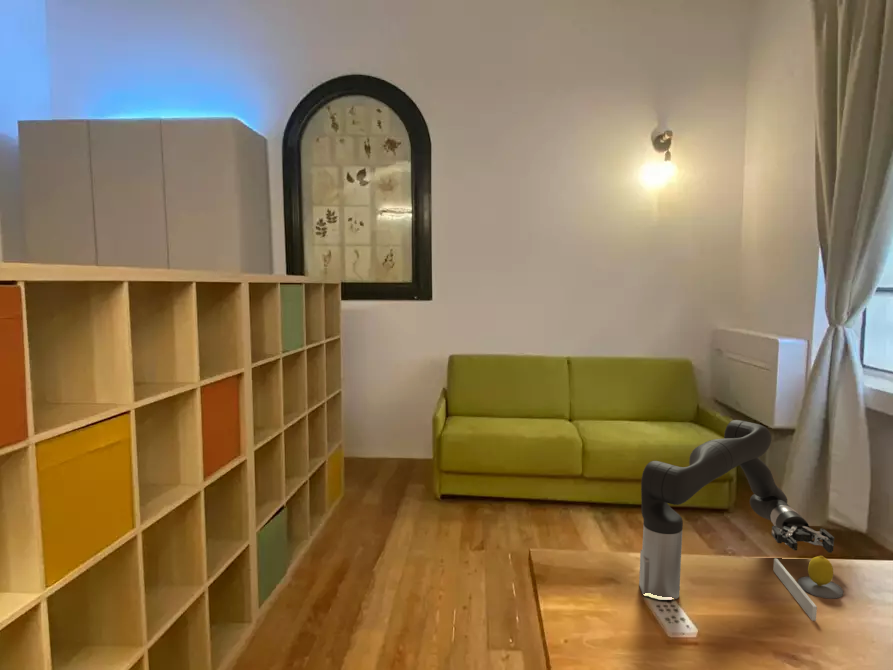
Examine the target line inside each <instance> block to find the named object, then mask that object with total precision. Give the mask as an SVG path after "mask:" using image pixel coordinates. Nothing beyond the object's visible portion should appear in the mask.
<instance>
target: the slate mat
mask: <svg viewBox="0 0 893 670" xmlns="http://www.w3.org/2000/svg"><path fill="white" fill-rule="evenodd" d="M797 583H798V584H799V586H800V587H801V588H802V589H803V591H804V592H805V593H806V594H809V595H812V596H814V597H818V598H822V599H831V600H832V599H833V600H835V599H839V598H842V597H843V596H844V589H843V587H841V586H840V585H839V584H838V583H835V582H834V581H832V580H831V581H830V583H828V584H826V585H822V586H818V585H817V584H816V583H815V582H813V581H812V580H811V578H810V577H809V575H808V576H807V575H806V576H801V577H799V578H798V579H797Z"/></svg>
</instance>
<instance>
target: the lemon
mask: <svg viewBox="0 0 893 670" xmlns="http://www.w3.org/2000/svg"><path fill="white" fill-rule="evenodd" d="M807 573H808V576H809V577H810V578H811V580H812V581H813V582H815V583H816V584H817V585H818V586H822V585H826V584H828V583H830V581H832V580H833V578H834V567H833V565H832V563H831V562H830V560H829V559H827V558H826V557H824V556H823V555H818V556H815V557H812V558H811V559H810V561H809V563H808V566H807Z"/></svg>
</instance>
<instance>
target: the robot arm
mask: <svg viewBox="0 0 893 670" xmlns="http://www.w3.org/2000/svg"><path fill="white" fill-rule="evenodd" d="M723 437H724V438H717V439H711V440H708V441H705V442H704V443H702V444H700V445H698V446H696V447H695V448H694V449H693V450H692V451H691V452H690V455H689V461H688V464H689V465H688V466H685V467H684V466H683V467H682V466H678V465H674V464H670V463H667V462H664V461H660V460H659V461H658V460H652V461H651V460H650V462H648V463H647V464H646V465H645V466H644V469H643V472H642V475H641V480H640V481H641V484H640V488H641V489H640V493H641V500H640V501H641V515H642V519H643V523H642V524H643V525H642V526H643V528H642V530H643V531H642V547H641V548H642V549H640V557H639V577H638V579H639V581H638V582H639V583H638V585H639V589H640V591H641V595H642V594H645V593H651V594H653V595H657V596H662V597H672V598H674V599H676V600H677V599H679V597H680V590H681V587H680V585H681V570H682V569H681V568H682V567H681V566H682V545H683V543H682V542H683V527H684V525H683V518H682V516H681V515H680V514H679V513H678V512H677V511H676V510H674V509H673V508H672V507H671V505H674V506H678V505H682V504H684V503H686V502H687V501H689V500H690V499H691V498H692V497H693V496H695V494H697V493H699V491H700V490H702V489H703V488H705V486H707V485H708V484H710V483H711V482H713V481H714V480H716V479H718V478H720V477H722V476H723V475H725V474H727V473H728V472H730V471H731V470H733V469H735V468H737V467H738V466H740V468H741V469H742V471H743V473H744V475H745V477H746V479H747V481H748V484H749V486H750V487H749V488H750V490H751V492H752V493H753V494H752V495H751V496H750V497H749V498H750V499H749V506H750V508H751V509H752V511H753V512H755V514H757V516H759V517H761V518H763V519H766V520H768V521H770V522H771V523H772V526H771V536H772V538H773V540H775V542H776V543H777V544H782V543H784V544H785V545H786V546H788V547H789V548H790V549H792V550H793V551H798V544H799V543H798V542H804V543H809V544H811V545H814V546H821V547H822V548H823V549H824V550H826V552H827V553H831V554H832V553H833V552H834V545H835V543H834V542H835V536H833V535H832V534H831V533H830V532H828V531H827V530H826V529H824V528H819V531H816V530H814V529H813V528H812V527H810V525H809V523H808V521H807V520H806V519H805V518H804V517H802V515H801V514H800V513H798V511H797V510H796V509H793V508H792V507H791V506H790V505H789V504H788V498H787V496H786V494H785V493H784V491H783V490H782V489H781V488H779V486H778V485H777V484H776V482H775V479H774V477H773V473H772V472H771V469H770V468H769V466H767V464H766V463H765V462H764V461H763V460H761V458H760V457H761V456H764V454H766V453H767V451H768V449H769V448H770V446H771V444H772V434H771V432H770V430H769V429H768V428H767V426H764V425H762V424H759V423H754V422H750V421H746V420H739V419H733V420H731V421H729V423H728V424H727V425H726V427H725V430H724V436H723ZM669 504H670V505H669ZM820 540H821V541H820Z"/></svg>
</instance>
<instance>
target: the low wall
mask: <svg viewBox="0 0 893 670" xmlns="http://www.w3.org/2000/svg"><path fill="white" fill-rule="evenodd" d="M772 567H773V568H772V569H773V570H772V571H773V573H774V574H775V575H776V576H777V578H778V579H779V580H780V582H781V583H782V584H783V586H785V588H786V589H787V591H789V593H790V594H791V596H792V597H793V598H794V599H795V601H796V602H797V603H798V605H799V606H800V607H801V608H802V610H803V611H804V612H805V614H806V615H807V616H808V617H809V619H810V620H811V621H812V622H816V620H817V611H818V606H817V605H816V604H815V602H814V601H813V600H812V599H811V597H810V596H809V595H808V593H807V592H805V591H803V589H802V588H801V587H800V586H799V584H798V581H797V580H796V579H795V578H794V577H793V576H792V575H791V573H790V572H789V571H788V570H787V569H786V568H785V566H784V565H783V564H782V562H781V561H780V560H779V559H778V558H773V566H772Z"/></svg>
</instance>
